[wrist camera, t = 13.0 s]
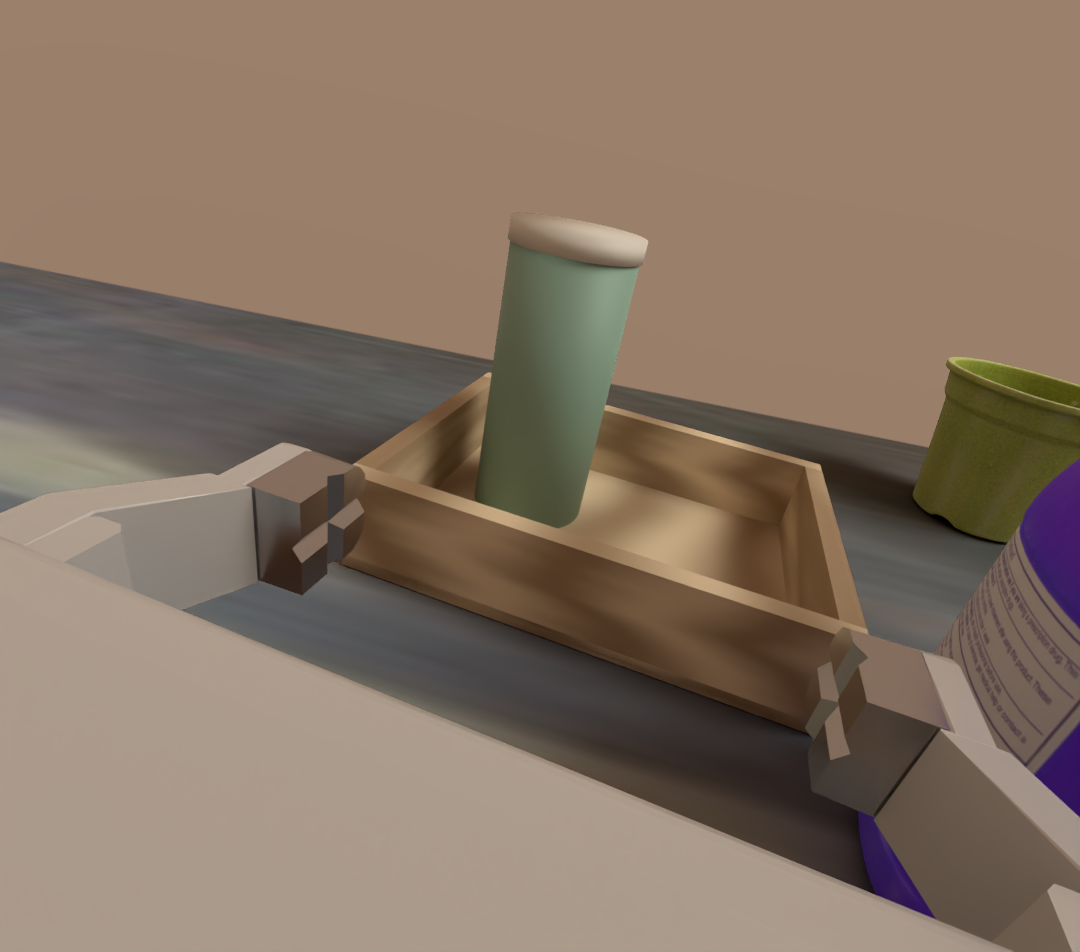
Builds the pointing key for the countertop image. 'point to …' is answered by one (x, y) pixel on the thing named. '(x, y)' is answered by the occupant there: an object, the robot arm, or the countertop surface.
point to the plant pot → (997, 445)
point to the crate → (628, 553)
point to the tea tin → (554, 362)
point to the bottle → (1017, 663)
